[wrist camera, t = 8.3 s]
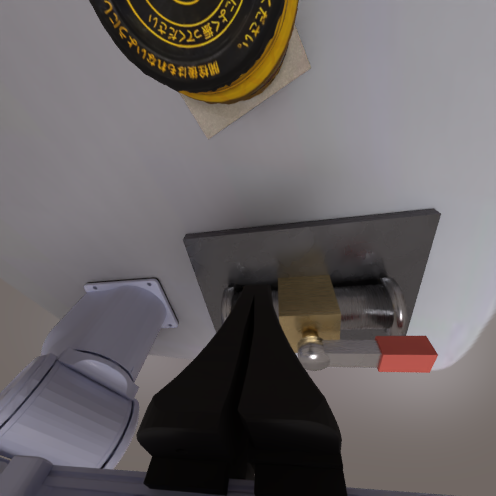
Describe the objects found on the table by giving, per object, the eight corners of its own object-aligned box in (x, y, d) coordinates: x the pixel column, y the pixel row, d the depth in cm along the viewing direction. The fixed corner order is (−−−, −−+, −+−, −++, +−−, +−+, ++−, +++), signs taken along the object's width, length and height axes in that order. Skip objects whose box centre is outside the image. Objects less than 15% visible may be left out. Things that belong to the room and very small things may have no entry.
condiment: (310, 68, 16) (376, 20, 6) (208, 139, 19) (131, 191, 9) (255, -80, 12) (175, -790, 2) (143, 34, 15) (-101, -80, 5)
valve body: (221, 337, 32) (210, 392, 26) (186, 234, 23) (156, 280, 18) (400, 333, 28) (433, 395, 22) (433, 208, 20) (501, 256, 14)
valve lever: (297, 353, 21) (298, 370, 19) (296, 335, 19) (298, 353, 18) (418, 353, 19) (429, 373, 18) (426, 335, 18) (438, 354, 17)
